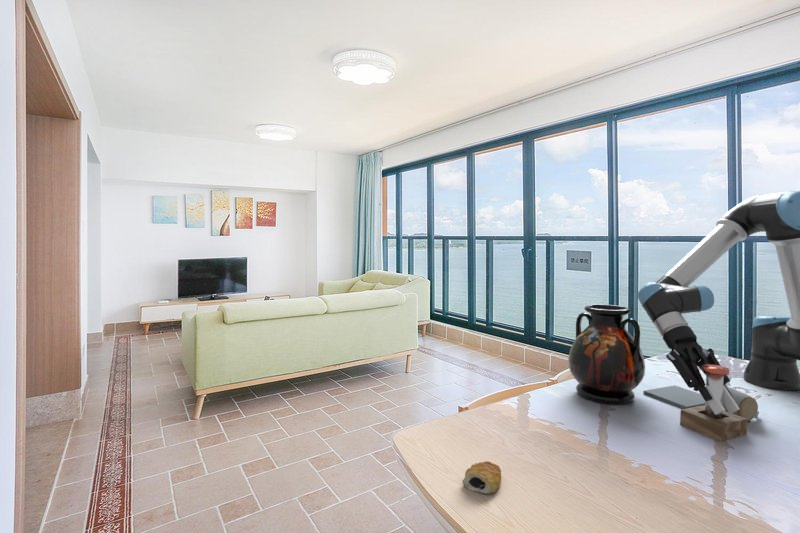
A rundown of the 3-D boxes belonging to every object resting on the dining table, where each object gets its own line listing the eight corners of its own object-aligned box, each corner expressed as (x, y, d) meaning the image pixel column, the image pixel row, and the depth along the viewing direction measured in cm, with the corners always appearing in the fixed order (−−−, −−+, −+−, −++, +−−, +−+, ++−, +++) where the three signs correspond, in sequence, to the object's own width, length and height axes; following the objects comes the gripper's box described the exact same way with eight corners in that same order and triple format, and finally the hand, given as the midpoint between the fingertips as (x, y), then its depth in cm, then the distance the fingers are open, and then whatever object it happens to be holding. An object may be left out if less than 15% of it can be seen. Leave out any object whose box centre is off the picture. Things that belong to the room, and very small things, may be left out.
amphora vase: (554, 394, 134) (556, 306, 132) (586, 379, 148) (588, 300, 147) (627, 415, 118) (630, 315, 116) (654, 396, 132) (658, 307, 130)
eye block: (705, 418, 116) (706, 404, 116) (746, 434, 106) (747, 418, 106) (680, 424, 112) (680, 409, 112) (719, 441, 103) (720, 425, 103)
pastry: (477, 467, 92) (478, 449, 91) (508, 476, 88) (509, 458, 88) (460, 488, 83) (460, 470, 83) (493, 500, 80) (494, 480, 80)
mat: (674, 388, 140) (674, 385, 140) (719, 403, 127) (719, 400, 127) (643, 393, 135) (643, 390, 135) (686, 410, 122) (686, 406, 122)
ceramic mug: (739, 424, 112) (741, 396, 112) (709, 412, 120) (710, 385, 120) (768, 420, 115) (770, 392, 115) (736, 409, 123) (738, 383, 123)
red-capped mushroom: (708, 423, 113) (711, 363, 112) (731, 432, 108) (734, 369, 107) (694, 426, 111) (696, 365, 110) (716, 435, 106) (719, 371, 105)
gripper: (692, 337, 125) (744, 415, 109) (642, 340, 122) (689, 420, 106) (709, 323, 119) (766, 403, 104) (657, 325, 116) (709, 408, 101)
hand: (727, 411), depth 105 cm, fingers closed on red-capped mushroom, 3 cm apart
